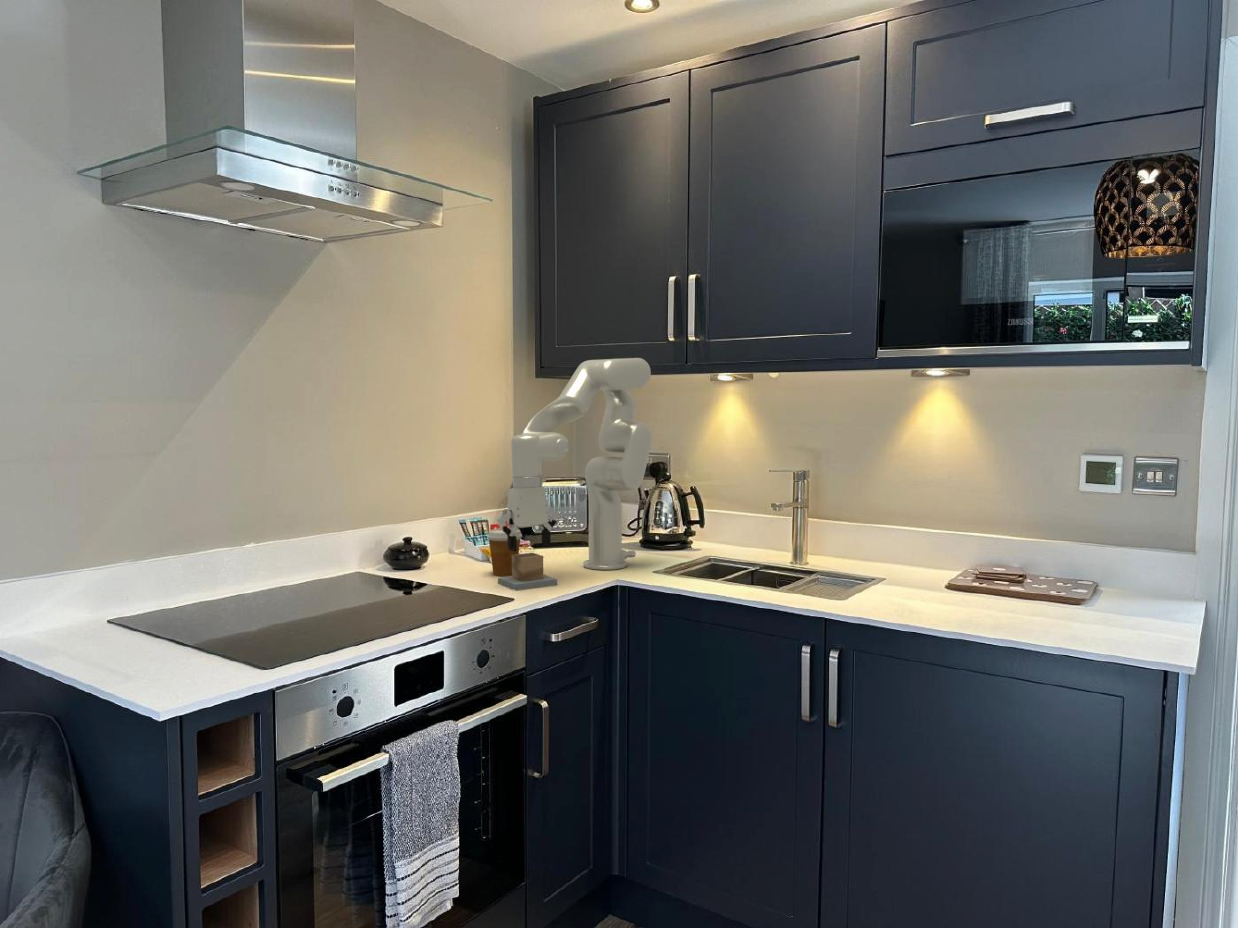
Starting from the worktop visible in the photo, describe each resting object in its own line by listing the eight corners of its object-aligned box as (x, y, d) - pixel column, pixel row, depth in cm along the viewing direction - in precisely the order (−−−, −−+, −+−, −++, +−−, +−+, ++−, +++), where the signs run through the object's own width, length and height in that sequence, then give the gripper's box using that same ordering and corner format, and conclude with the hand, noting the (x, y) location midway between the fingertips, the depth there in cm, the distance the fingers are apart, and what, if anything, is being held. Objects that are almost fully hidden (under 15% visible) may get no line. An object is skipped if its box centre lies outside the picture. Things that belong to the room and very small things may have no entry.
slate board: (538, 578, 224) (538, 572, 224) (557, 584, 216) (557, 579, 216) (497, 583, 217) (497, 577, 217) (515, 590, 209) (515, 584, 209)
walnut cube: (543, 578, 216) (543, 556, 215) (522, 581, 212) (522, 558, 212) (532, 575, 221) (532, 552, 220) (511, 577, 217) (511, 554, 217)
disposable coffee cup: (480, 573, 230) (480, 530, 229) (509, 569, 236) (509, 527, 235) (499, 579, 223) (499, 534, 222) (529, 574, 229) (528, 531, 228)
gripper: (549, 478, 223) (551, 541, 224) (490, 484, 213) (492, 550, 215) (563, 481, 217) (565, 546, 218) (503, 487, 207) (506, 555, 209)
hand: (529, 548), depth 217 cm, fingers open, 9 cm apart
